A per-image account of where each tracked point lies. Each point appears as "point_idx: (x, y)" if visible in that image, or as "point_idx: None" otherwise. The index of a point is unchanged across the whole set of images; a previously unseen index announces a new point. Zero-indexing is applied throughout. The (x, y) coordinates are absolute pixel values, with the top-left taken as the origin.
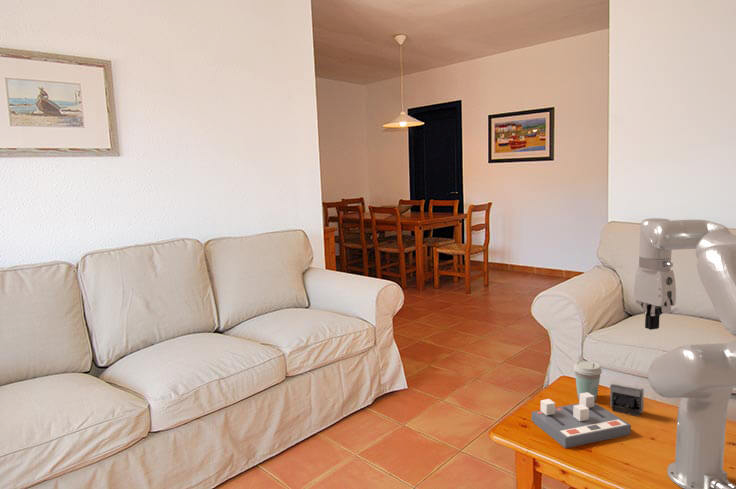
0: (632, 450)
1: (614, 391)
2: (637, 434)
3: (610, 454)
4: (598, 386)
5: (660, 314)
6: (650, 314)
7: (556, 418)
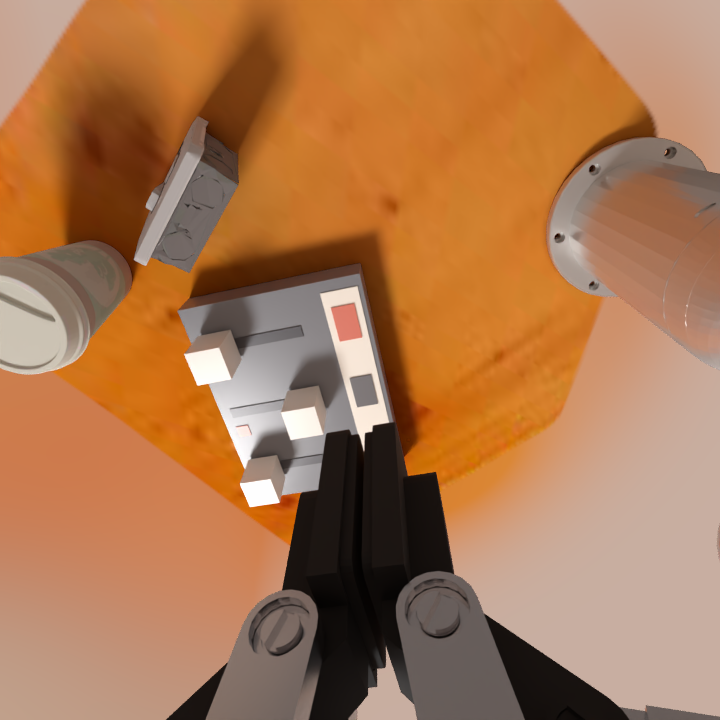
0: (444, 307)
1: (187, 264)
2: (361, 239)
3: (451, 372)
4: (83, 257)
5: (485, 615)
6: (364, 647)
7: (301, 458)
